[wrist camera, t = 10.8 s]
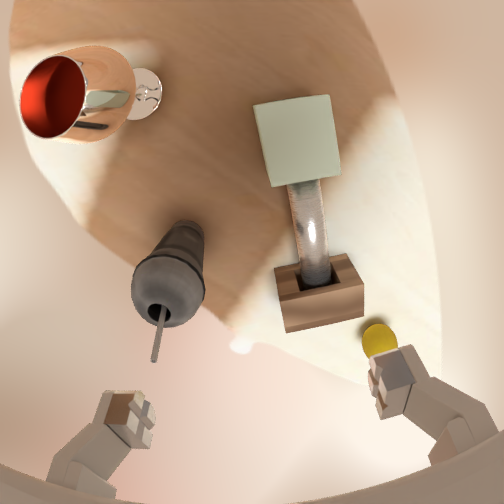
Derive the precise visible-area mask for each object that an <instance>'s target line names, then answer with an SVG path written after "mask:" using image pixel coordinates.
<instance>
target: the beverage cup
mask: <svg viewBox="0 0 504 504" xmlns="http://www.w3.org/2000/svg"><path fill="white" fill-rule="evenodd" d="M203 255H204V234H203V231H202V229H201V228H200V227H199V226H198V225H197V224H196V223H194V222H192V221H187V220H185V221H180V222H178V223H176V224H175V225H174V226H173V227H172V228H171V229H170V230H169V231H168V232H167V233H166V235H165V236H164V237H163V238H162V240H161V241H160V242H159V244H158V245H157V246H156V247H155V249H154V250H153V251H152V253H151V254H150V255H149V256H147V257H146V258H145V259H143V260H142V261H141V262H140V263H139V264H138V265H137V266H136V269H135V271H134V274H133V280H132V284H131V297H132V300H133V303H134V306H135V308H136V310H137V311H138V313H139V314H140V315H141V317H142V318H143V319H145V320H146V321H147V322H149V323H151V324H153V325H155V326H157V331H156V336H155V340H154V345H153V350H152V355H151V362H152V363H156V362H157V358H158V352H159V347H160V342H161V336H162V331H163V328H168V327H176V326H179V325H182V324H184V323H185V322H187V321H188V320H189V319H191V318H192V317H193V316H194V315H195V313H196V311H197V310H198V308H199V307H200V305H201V303H202V301H203V300H204V295H205V285H204V280H203V275H202V272H203Z"/></svg>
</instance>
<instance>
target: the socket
mask: <svg viewBox="0 0 504 504" xmlns="http://www.w3.org/2000/svg"><path fill="white" fill-rule="evenodd" d="M329 261H330V272H331V283H332V285H329V286H324V287H320V288H315V289H310V290H305V291H304V288H303V281H302V274H301V268H300V263H298V264H293V265H288V266H283V267H278V268H274V271H275V277H276V283H277V289H278V295H279V301H280V306H281V311H282V316H283V321H284V326H285V331H286V333H290V332H295V331H300V330H305V329H310V328H315V327H319V326H324V325H329V324H333V323H338V322H342V321H346V320H350V319H355V318H359V317H363V316H364V283H363V281H362V280H361V278H360V276H359V274H358V273H357V271H356V269H355V268H354V266H353V264H352V263H351V261H350V259H349V257H348V256H347V254H341V255H337V256H332V257H329Z"/></svg>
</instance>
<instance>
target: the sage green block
mask: <svg viewBox="0 0 504 504" xmlns="http://www.w3.org/2000/svg"><path fill="white" fill-rule="evenodd" d="M252 106H253V110H254V115H255V119H256V124H257V128H258V133H259V138H260V142H261V147H262V152H263V156H264V161H265V166H266V171H267V174H268V177H269V180H270V184H271V187H277V186H282V185H287V184H292V183H297V182H303V181H308V180H314V179H319V178H325V177H331V176H337V175H342V174H341V166H340V158H339V151H338V144H337V137H336V131H335V125H334V118H333V113H332V107H331V101H330V96H329V94H325V95H311V96H304V97H297V98H291V99H285V100H279V101H273V102H267V103H262V104H257V105H252Z"/></svg>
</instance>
